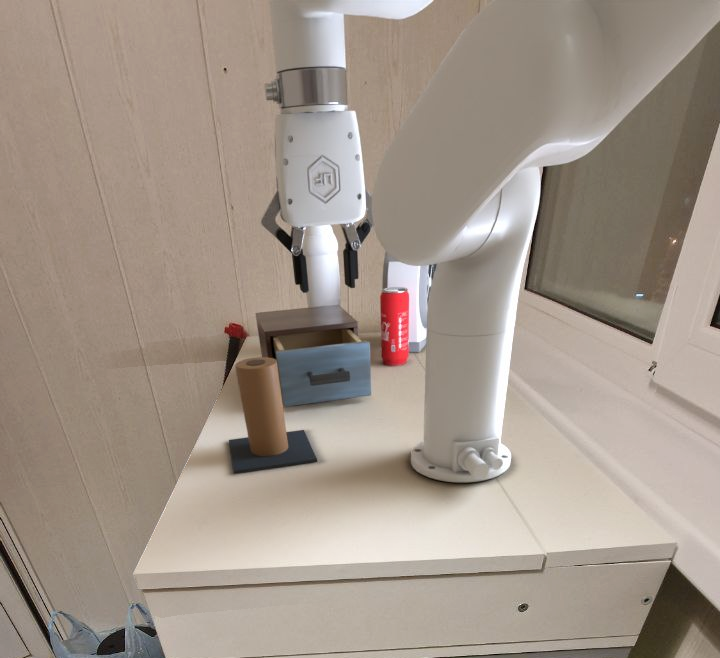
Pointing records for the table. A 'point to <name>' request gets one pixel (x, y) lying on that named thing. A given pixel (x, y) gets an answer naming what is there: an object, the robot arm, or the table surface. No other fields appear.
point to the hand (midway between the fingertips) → (327, 287)
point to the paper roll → (262, 405)
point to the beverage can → (394, 325)
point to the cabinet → (301, 323)
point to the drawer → (322, 366)
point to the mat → (294, 455)
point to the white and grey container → (411, 295)
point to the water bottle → (322, 266)
